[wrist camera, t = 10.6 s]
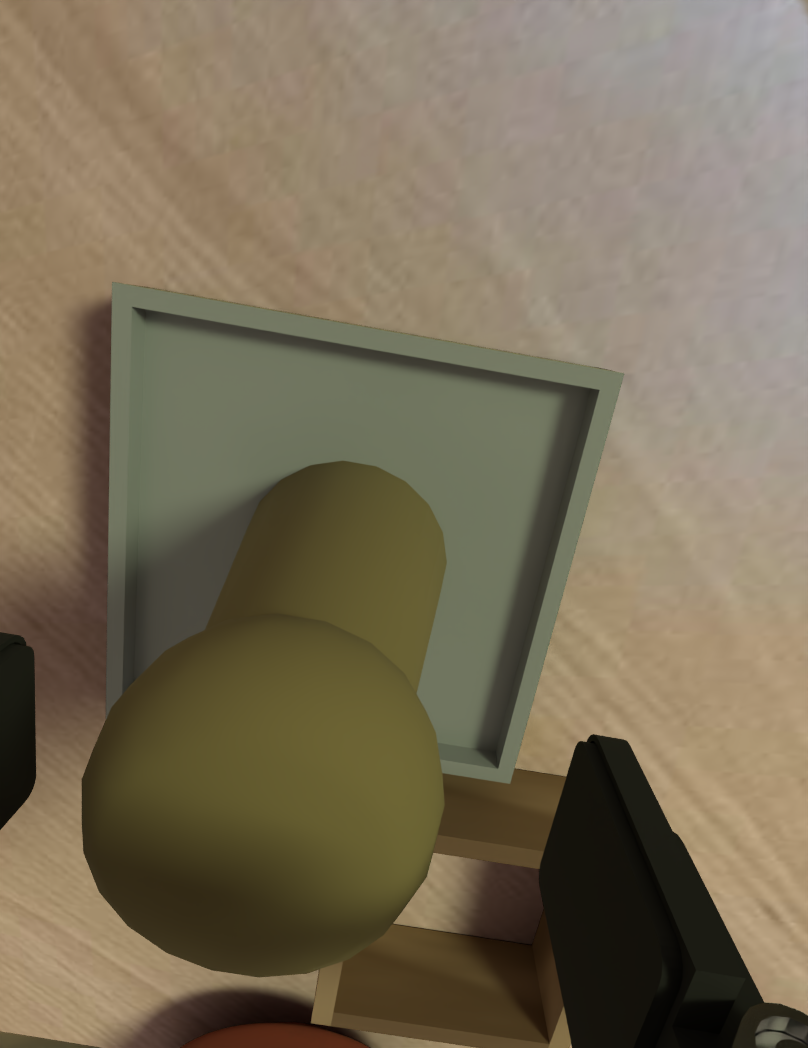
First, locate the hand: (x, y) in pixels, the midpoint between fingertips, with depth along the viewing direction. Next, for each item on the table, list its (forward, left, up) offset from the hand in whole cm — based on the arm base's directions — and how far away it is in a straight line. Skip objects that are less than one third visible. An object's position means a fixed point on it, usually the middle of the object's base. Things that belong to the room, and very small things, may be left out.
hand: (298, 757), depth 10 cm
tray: (0, 0, -9) cm, 9 cm away
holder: (-12, -6, -9) cm, 16 cm away
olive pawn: (0, 0, -8) cm, 8 cm away
